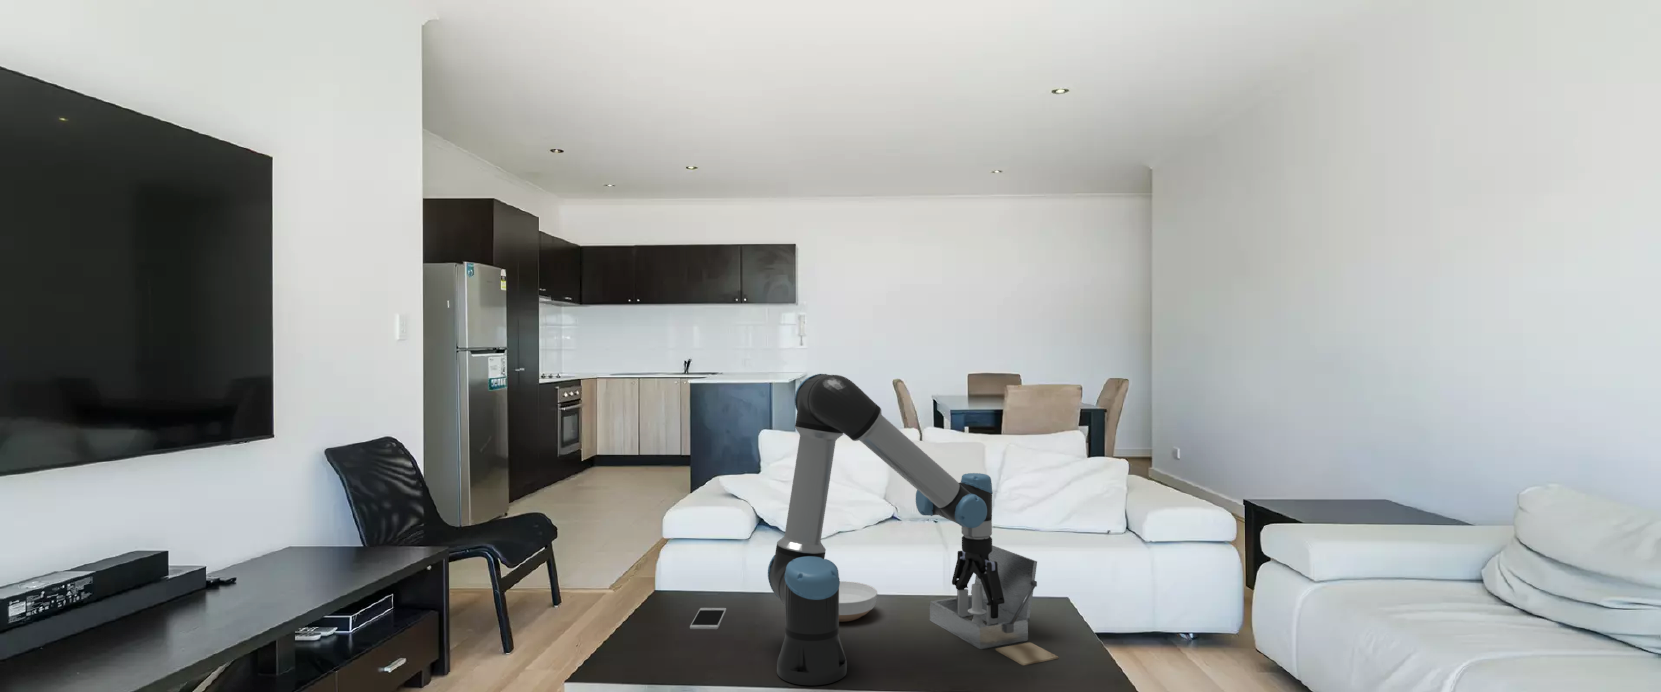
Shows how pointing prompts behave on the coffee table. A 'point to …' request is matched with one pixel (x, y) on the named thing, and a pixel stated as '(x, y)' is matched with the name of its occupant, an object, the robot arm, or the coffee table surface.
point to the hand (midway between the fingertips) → (977, 622)
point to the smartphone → (708, 618)
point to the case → (1011, 614)
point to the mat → (1026, 653)
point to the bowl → (855, 600)
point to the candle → (977, 604)
